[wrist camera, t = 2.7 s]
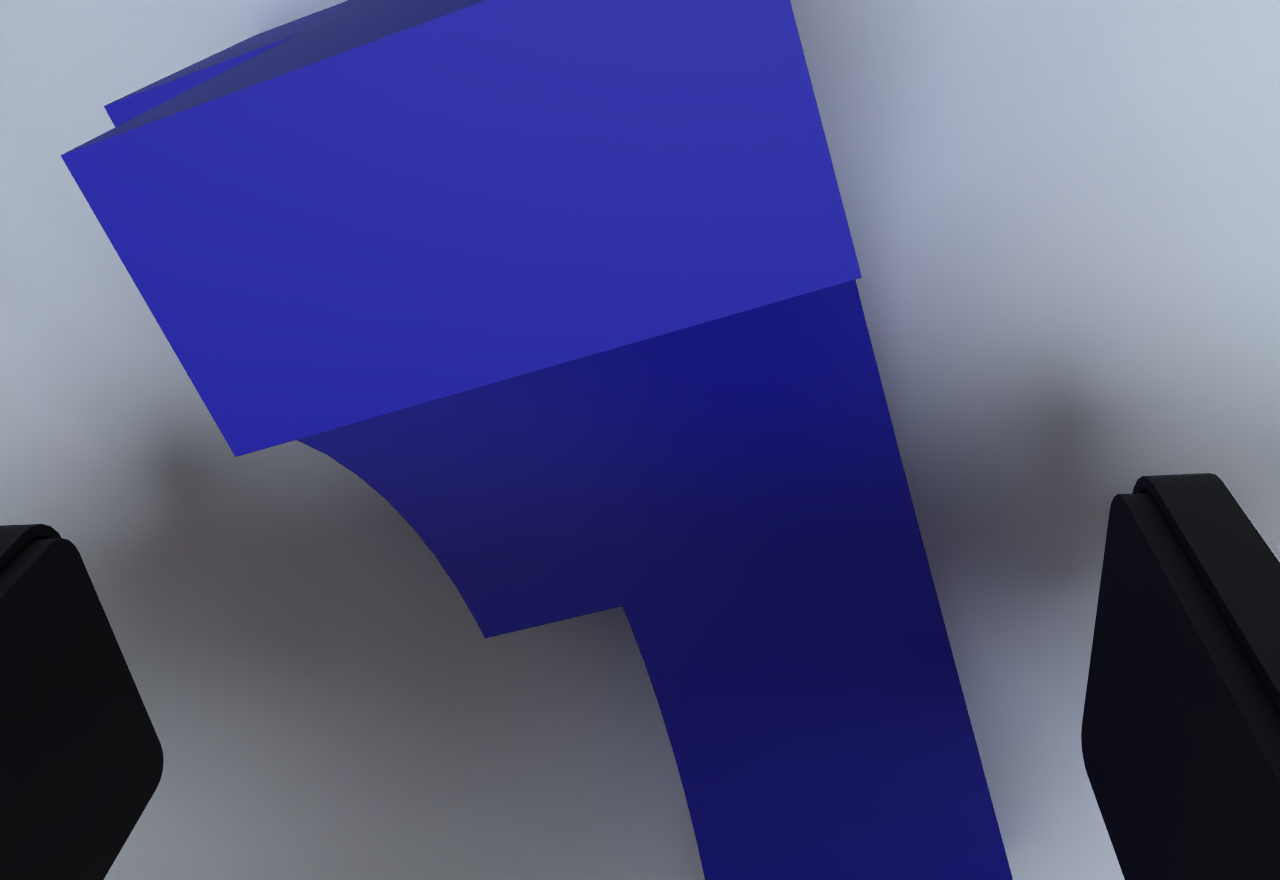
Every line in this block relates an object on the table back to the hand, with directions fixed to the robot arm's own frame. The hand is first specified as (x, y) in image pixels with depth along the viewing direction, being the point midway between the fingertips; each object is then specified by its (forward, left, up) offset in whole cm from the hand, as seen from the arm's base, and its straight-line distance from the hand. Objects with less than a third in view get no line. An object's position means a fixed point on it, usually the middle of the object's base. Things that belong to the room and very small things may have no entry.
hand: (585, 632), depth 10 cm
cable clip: (0, -1, -3) cm, 3 cm away
